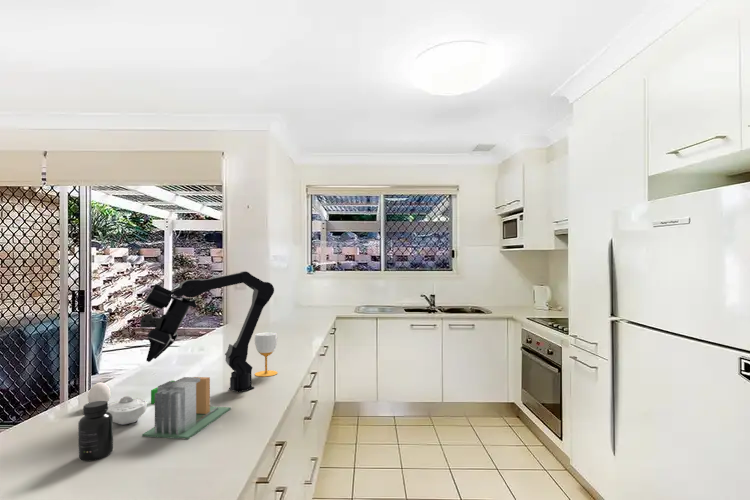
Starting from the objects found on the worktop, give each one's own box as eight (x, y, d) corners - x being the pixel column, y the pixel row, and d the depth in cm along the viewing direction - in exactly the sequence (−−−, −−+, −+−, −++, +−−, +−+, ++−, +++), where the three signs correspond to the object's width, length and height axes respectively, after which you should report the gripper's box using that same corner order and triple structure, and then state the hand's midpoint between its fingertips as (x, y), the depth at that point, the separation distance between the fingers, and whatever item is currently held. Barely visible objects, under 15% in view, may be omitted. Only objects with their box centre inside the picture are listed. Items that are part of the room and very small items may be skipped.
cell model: (103, 433, 112) (103, 407, 113) (107, 418, 123) (107, 395, 123) (146, 426, 117) (146, 401, 117) (147, 412, 128) (147, 389, 128)
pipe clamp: (161, 405, 135) (161, 390, 135) (150, 404, 136) (150, 390, 136) (181, 393, 146) (181, 380, 146) (171, 393, 147) (171, 380, 147)
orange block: (194, 410, 126) (194, 376, 126) (209, 411, 125) (209, 377, 125) (190, 413, 124) (190, 378, 124) (206, 413, 123) (206, 379, 123)
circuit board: (191, 407, 131) (191, 405, 131) (230, 409, 129) (230, 407, 129) (142, 436, 110) (142, 434, 110) (188, 439, 108) (188, 436, 108)
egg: (82, 409, 131) (83, 384, 132) (101, 402, 137) (101, 379, 137) (96, 411, 129) (96, 386, 130) (115, 404, 135) (115, 380, 135)
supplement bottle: (89, 449, 102) (89, 399, 103) (118, 448, 103) (119, 398, 103) (71, 462, 96) (71, 409, 96) (103, 461, 96) (103, 408, 96)
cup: (274, 376, 166) (274, 335, 166) (251, 377, 166) (251, 336, 166) (280, 370, 175) (279, 331, 175) (258, 371, 175) (258, 332, 176)
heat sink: (195, 410, 129) (195, 369, 129) (219, 411, 128) (219, 370, 128) (152, 436, 110) (152, 388, 110) (180, 437, 109) (180, 389, 109)
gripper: (156, 305, 148) (133, 347, 144) (144, 304, 130) (117, 352, 126) (187, 318, 150) (165, 360, 146) (180, 319, 132) (154, 367, 128)
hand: (150, 359), depth 137 cm, fingers open, 9 cm apart
